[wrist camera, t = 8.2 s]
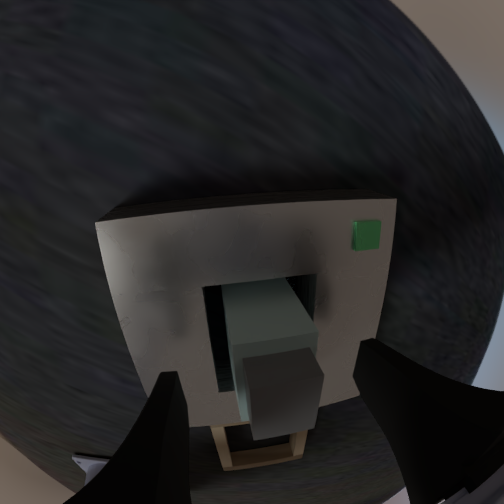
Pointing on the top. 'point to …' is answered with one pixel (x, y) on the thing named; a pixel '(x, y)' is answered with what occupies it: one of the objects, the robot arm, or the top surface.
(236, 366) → the plug
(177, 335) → the port
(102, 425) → the top surface
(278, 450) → the tan square frame
